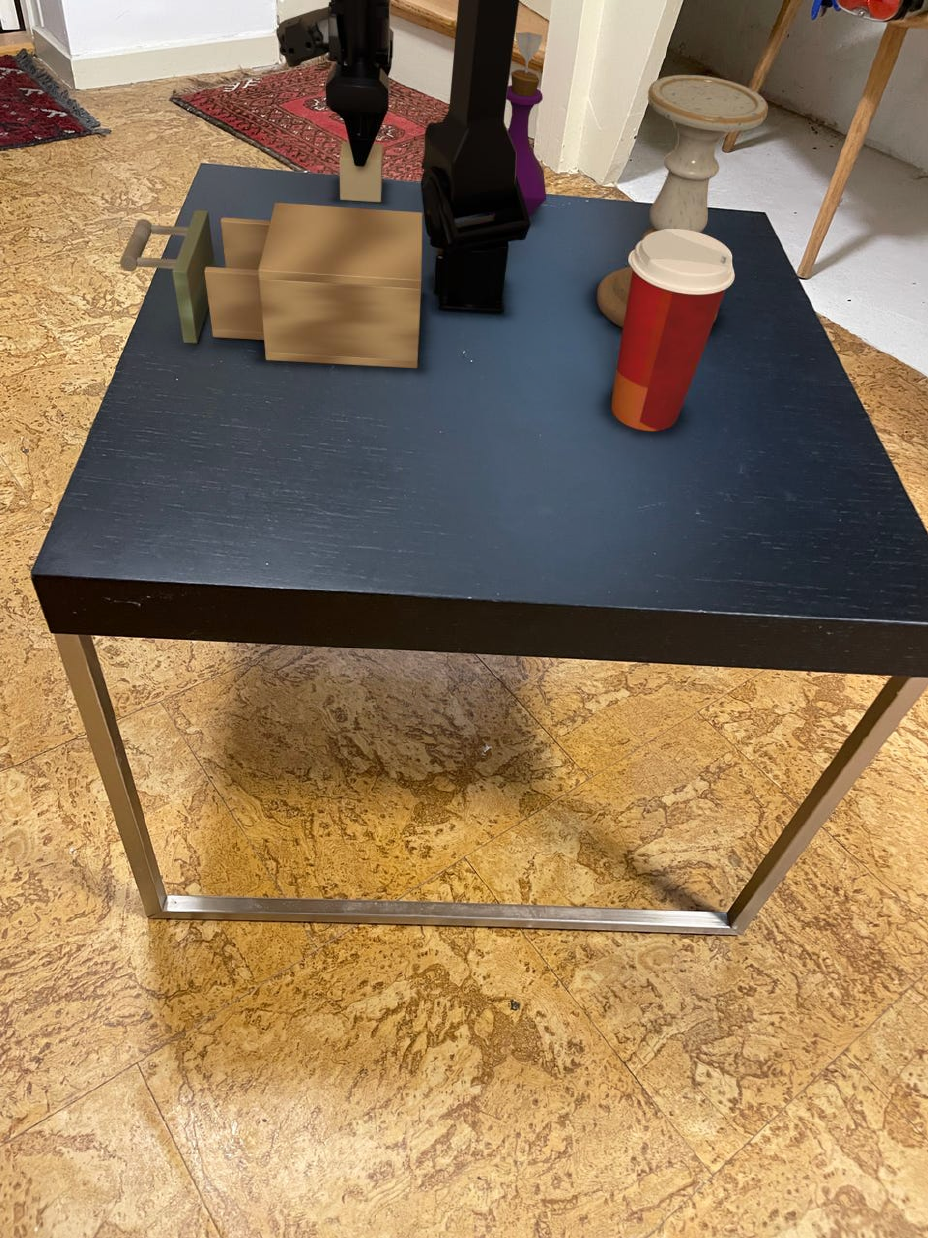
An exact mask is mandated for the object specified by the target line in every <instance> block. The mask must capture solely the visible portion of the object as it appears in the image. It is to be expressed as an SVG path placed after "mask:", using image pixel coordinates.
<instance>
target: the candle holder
mask: <svg viewBox="0 0 928 1238" xmlns="http://www.w3.org/2000/svg"><path fill="white" fill-rule="evenodd" d="M647 102H648V104H649V106H650V108H651V109H652V110H654V112H656V113H657V114H659V115H660V116H662V117H664V118H666V120H669V121H672V124H673V127H674V129H675V130H676V131H677V144H676V146H675V148H674V149H673V150H672V151H670V152H669V153H667V154H666V155H665V157H664V159H663V164H664V167H665V168H666V170H667V174H666V177H665V180H664V182H663V185H662V186H661V189H660V191H659V193H658V195H657V197H656V198H655V200H654V201H653V203H652V206H651V207H650V210H649V215H648V216H649V221H650V224H651V226H652V227H650V229H648V230H647V231H645V232H644V233H643V235H642V236H641V238H640V239H641V240H640V241H642V240H643V239H644V238H645V237H646V236H647V235H648V234H650V233H653V232H656V231H660V230H664V229H682V230H689V231H694V232H698V233H702V232H703V231H704V230H705V229H706V227H707V224H708V220H709V210H708V193H709V185H710V179H712V178H714V177H715V176H716V175H718V173H719V171H720V165H719V162H718V160H717V159H716V157H715V152H716V151H715V150H716V147H717V145H718V144H719V142H720V140H722V139H724V138H725V137H727V136H728V134H729V133H730V132H741V131H747V130H750V129H754V128H757V127H758V126H760V125H761V124H762V123H763V122H764V121H765V119H766V117H767V115H768V110H769V105H768V102H767V101H766V99H765V98H764V97H763V96H762V95H761V94H759V93H758V92H757V91H754V90H753V89H751V88H749V87H748V86H745V85H742V84H739V83H737V82H734V81H730V80H726V79H723V78H718V77H713V76H706V75H698V74H697V75H696V74H695V75H694V74H677V75H669V76H664V77H661V78H658V79H656V80H655V81H653V82H652V83H651V84H650V86H649V88H648V91H647ZM632 271H633V268H632V267H631V265H630V266H627V267H623V268H620V269H618V270H615V271H613V272H611V273H609V274H607V275H606V276H604V278H603V279H602V280H601V282H599V284H598V288H597V290H596V291H597V292H596V302H597V305H598V308H599V310H600V312H601V313H602V314H603V315H604V316H605V317H606V318H607V319H608V320H609V321H611V322H612V323H613V324H615V325H617V326H618V327H620V328H622V329H623V326H624V320H625V314H626V307H627V301H628V295H629V289H630V283H631V277H632ZM718 313H719V311H718V312H717V315H716V317H715V320H714V322H715V321H716V320H717V316H718Z"/></svg>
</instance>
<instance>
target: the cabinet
mask: <svg viewBox="0 0 928 1238" xmlns="http://www.w3.org/2000/svg"><path fill="white" fill-rule="evenodd" d="M272 209H273V210H272V212H271V213H272V214H271V217H270V220H269V221H270V225H269V229H268V233H267V237H266V241H265V245H264V249H263V253H262V257H261V261H260V266H259V270H258V273H259V285H260V297H261V308H262V320H263V331H264V340H263V341H264V352H265V355H264V356H265V360H266V361H277V362H278V361H281V362H295V363H296V362H298V363H314V364H331V365H332V364H334V365H349V366H369V367H385V368H386V367H387V368H404V369H405V368H406V369H418V361H419V360H418V359H419V340H420V323H421V322H420V321H421V319H420V318H421V298H422V277H423V275H422V274H423V271H422V270H423V268H422V267H423V217H424V213H423V212H419V211H418V212H417V211H404V210H403V211H402V210H388V209H373V208H357V207H346V206H345V207H344V206H331V205H330V206H329V205H316V204H315V205H313V204H300V203H287V202H286V203H285V202H274V206H273V208H272Z"/></svg>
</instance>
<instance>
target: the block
mask: <svg viewBox="0 0 928 1238" xmlns="http://www.w3.org/2000/svg"><path fill="white" fill-rule="evenodd" d="M383 149H384V145H383V144H382V143H379V144H378V143H374V144H373V147H372V149H371V152H370V154H369V157H368V159H367V162H366V164H365V166H364V167H360V166H355V165H354V161H353V156H352V152H351V148H350V143H349V141H342V142H341V147H340V151H339V161H338V163H339V199H340V201H355V202H356V201H357V202H367V203H369V202H370V203H381V202H382V190H383V159H384V157H383V156H384V155H383V154H384V151H383Z"/></svg>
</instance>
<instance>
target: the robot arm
mask: <svg viewBox="0 0 928 1238" xmlns="http://www.w3.org/2000/svg"><path fill="white" fill-rule="evenodd" d="M391 3H392V0H330V1H328V4H327V5H328V6H326V7H322V8H317V9H313V10H311V11H308V12H305V13H301V14H299V15H296V16H292V17H290V18H287V19H285V20H283V21H281V22H280V23H279V24H278V27H277V31H276V32H275V33H276V38H277V40H278V43H279V54H281V56H283V57H284V59H285V62H286V64H287V66H288V67H289V68H295V67H300V65H301V64H302V63H304V62H307V61H310V60H313V59H316V58H319V57H322V56H324V55H327V54H328V62H334V63H335V62H336V65H335V66H334V67H333V68H331V70H330V71H329V72H328V73H327V77H326V81H325V106H326V107H328V109H329V110H330V111H331V112H332V113H336V114H337V115H338V116H339V117H340V118H341V119H342V120H343V123H344V126H345V130H346V134H347V135H346V136H347V138H348V139H347V140H348V142H349V143H350V148H351V152H352V156H353V161H354V165H355V166H360V167H364V166H365V164H366V162H367V159H368V157H369V154H370V152H371V149H372V147H373V144H375V142H376V140H377V136H378V134H379V132H380V130H381V127H382V125H383V123H384V121H385V118H386V116H387V115H388V111H389V107H390V106H389V105H390V82H391V81H390V77H389V75H390V72H391V70H392V65H393V59H394V57H393V56H394V35H395V34H394V30H392V28H391V27H390V25H391V17H390V16H391ZM457 4H458V5H457V15H456V26H455V35H454V36H455V37H454V49H453V59H452V69H451V70H452V72H451V83H450V93H449V106H448V111H447V113H446V114H445V116H444V118H443V119H442V120H441V121H435V122H430V123H428V124H427V126H426V129H425V131H424V152H423V160H422V163H421V169H422V170H423V172H422V175H421V178H420V179H421V181H420V191H421V199H422V200H421V201H422V209H423V218H424V226H425V230H426V231H425V232H426V235H427V236H428V237H429V245H430V246H431V247H432V248H435V253H434V269H433V270H434V271H433V272H434V273H433V294H434V295H435V296H437V304H438V305H437V307H438V309H439V310H440V311H449V312H450V311H451V312H464V313H481V314H496V315H497V314H498V315H502V314H503V313H505V301H504V300H505V299H504V290H505V281H506V274H507V266H508V258H509V257H508V256H509V250H510V244H509V243H510V242H515V241H519V242H520V241H525V240H526V238H527V235H528V233H529V231H530V228H531V224H532V223H531V219H530V217H529V216H528V212H527V209H526V205H525V202H524V198H523V195H522V192H521V188H520V185H519V181H518V178H517V175H516V158H517V152H516V149H515V147H514V144H513V142H512V140H511V137H510V135H509V133H508V128H507V126H506V123H505V114H506V107H507V101H508V100H507V92H508V86H509V85H510V84H509V83H510V78H511V77H510V75H511V67H512V61H513V52H514V46H515V45H514V44H515V39H516V31H517V30H516V29H517V23H518V15H519V7H520V0H458V2H457ZM490 212H495V215H490ZM484 214H489V215H486V216H482V217H481V216H480V217H474V218H469V217H473V216H478V215H484ZM467 217H468V218H469V219H463V218H467ZM456 219H463V220H459V221H455V220H456Z"/></svg>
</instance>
